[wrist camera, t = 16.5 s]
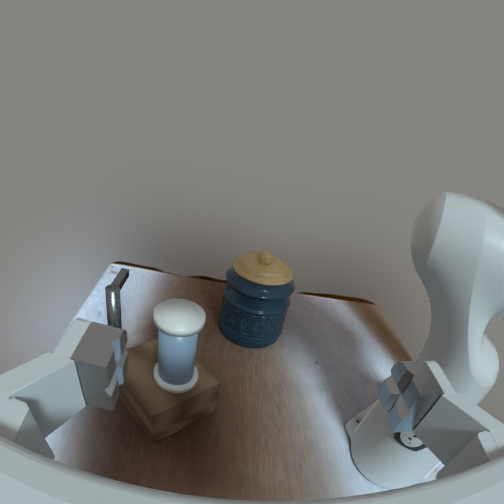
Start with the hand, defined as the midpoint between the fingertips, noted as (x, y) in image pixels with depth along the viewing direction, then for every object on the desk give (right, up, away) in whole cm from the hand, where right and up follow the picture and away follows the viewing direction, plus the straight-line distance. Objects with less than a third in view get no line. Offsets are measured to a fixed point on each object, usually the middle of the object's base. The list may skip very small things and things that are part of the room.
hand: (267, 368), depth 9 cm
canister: (-1, -12, +56) cm, 57 cm away
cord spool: (-11, -14, +32) cm, 36 cm away
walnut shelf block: (-14, -19, +35) cm, 42 cm away
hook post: (-19, -11, +34) cm, 40 cm away
